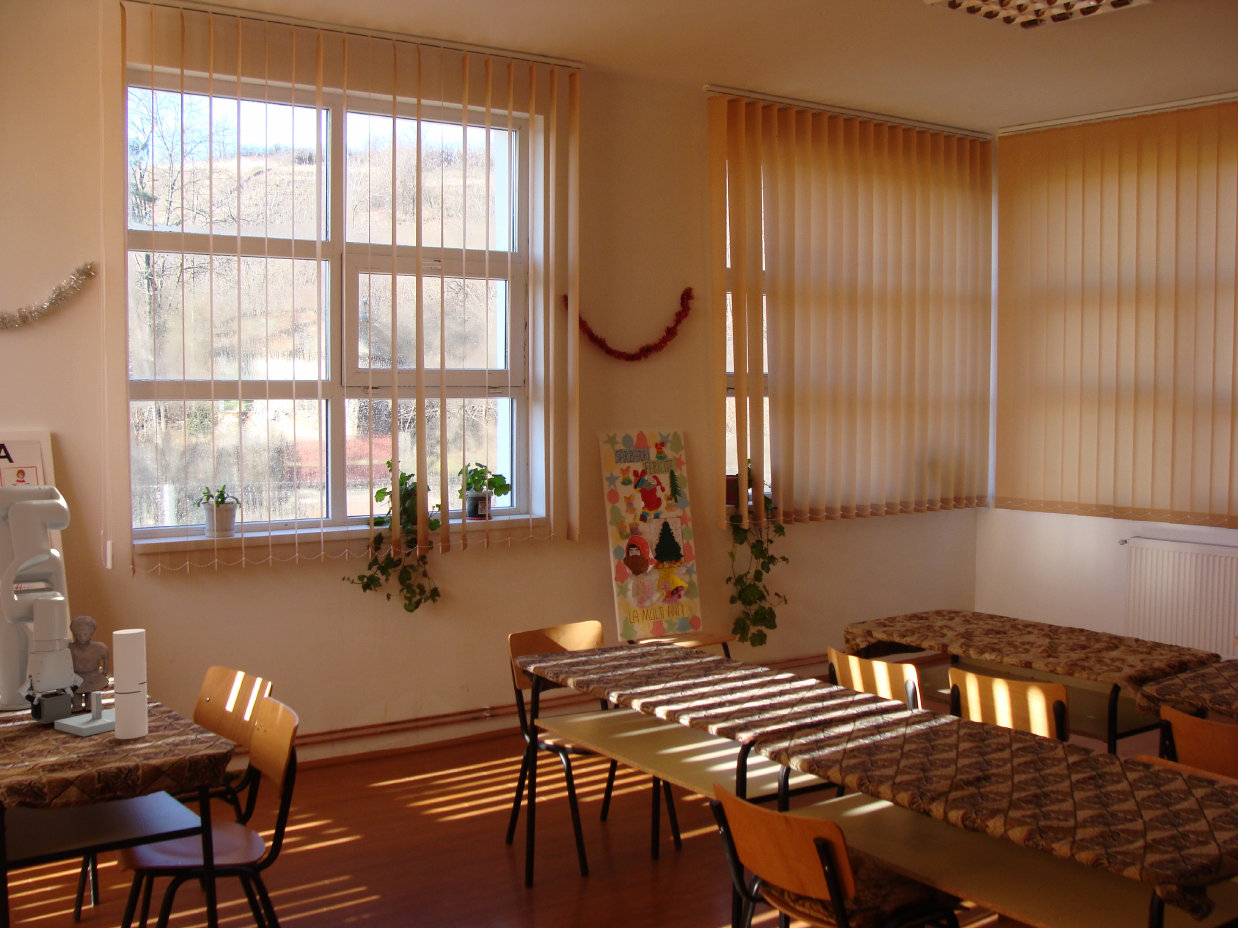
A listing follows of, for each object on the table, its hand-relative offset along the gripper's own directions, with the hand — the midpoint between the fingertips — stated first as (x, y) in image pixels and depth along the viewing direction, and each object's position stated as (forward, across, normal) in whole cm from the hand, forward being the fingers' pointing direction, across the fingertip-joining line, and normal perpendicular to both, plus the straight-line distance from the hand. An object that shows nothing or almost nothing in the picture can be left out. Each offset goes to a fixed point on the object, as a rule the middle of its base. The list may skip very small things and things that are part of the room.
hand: (51, 714), depth 270 cm
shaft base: (+2, -5, +13) cm, 14 cm away
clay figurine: (+3, -13, -9) cm, 16 cm away
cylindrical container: (+2, -5, +29) cm, 29 cm away
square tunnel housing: (+1, 0, 0) cm, 1 cm away
